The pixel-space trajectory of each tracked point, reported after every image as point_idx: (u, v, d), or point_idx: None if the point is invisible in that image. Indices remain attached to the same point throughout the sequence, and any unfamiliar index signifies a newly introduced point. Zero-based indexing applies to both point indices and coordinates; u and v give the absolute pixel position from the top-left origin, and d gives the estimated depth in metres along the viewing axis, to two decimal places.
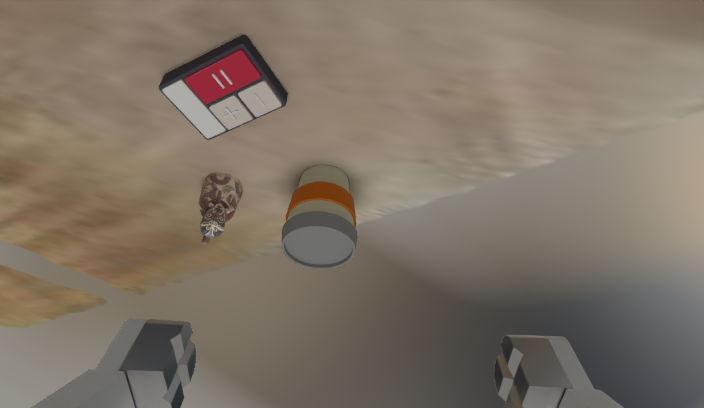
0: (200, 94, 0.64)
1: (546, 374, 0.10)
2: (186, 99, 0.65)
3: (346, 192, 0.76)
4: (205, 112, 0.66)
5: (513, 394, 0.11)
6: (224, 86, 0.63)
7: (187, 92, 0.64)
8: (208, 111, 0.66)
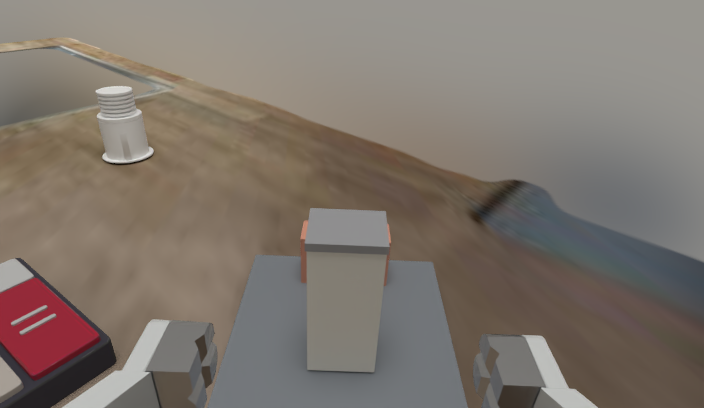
0: None
1: (521, 373, 0.10)
2: None
3: None
4: None
5: (490, 393, 0.11)
6: (15, 324, 0.33)
7: (5, 285, 0.37)
8: None
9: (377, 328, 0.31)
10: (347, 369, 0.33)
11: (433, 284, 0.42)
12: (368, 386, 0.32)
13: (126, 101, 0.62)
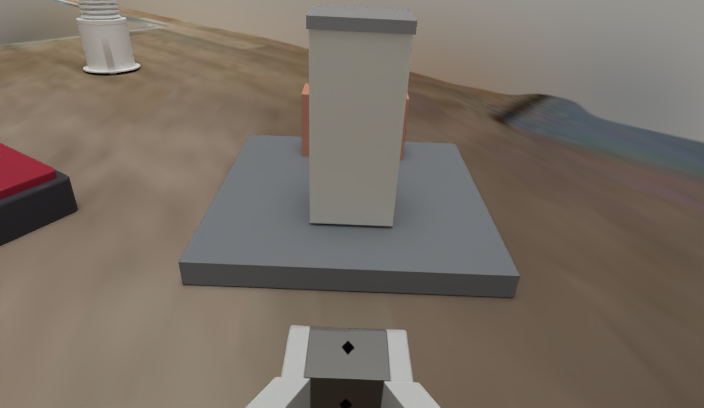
0: None
1: (370, 367, 0.10)
2: None
3: None
4: None
5: None
6: None
7: None
8: None
9: (398, 157, 0.24)
10: (359, 221, 0.27)
11: (458, 160, 0.36)
12: (385, 239, 0.26)
13: (108, 1, 0.56)
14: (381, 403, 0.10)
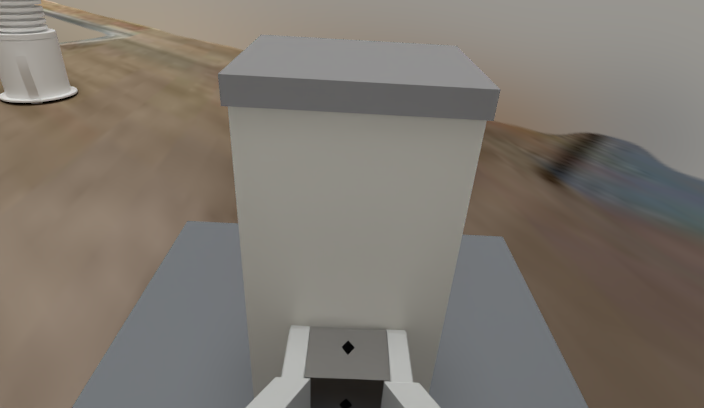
0: None
1: (370, 367, 0.10)
2: None
3: None
4: None
5: None
6: None
7: None
8: None
9: (433, 351, 0.12)
10: None
11: (513, 275, 0.23)
12: None
13: (27, 9, 0.43)
14: (382, 403, 0.10)
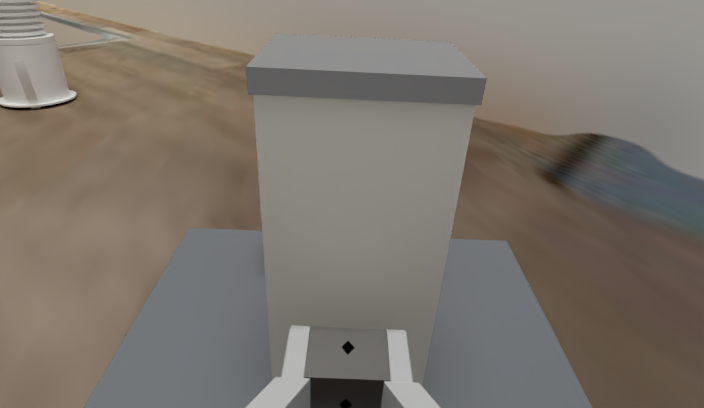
0: None
1: (370, 367, 0.10)
2: None
3: None
4: None
5: None
6: None
7: None
8: None
9: (432, 315, 0.13)
10: None
11: (518, 280, 0.22)
12: None
13: (25, 13, 0.42)
14: (382, 403, 0.10)
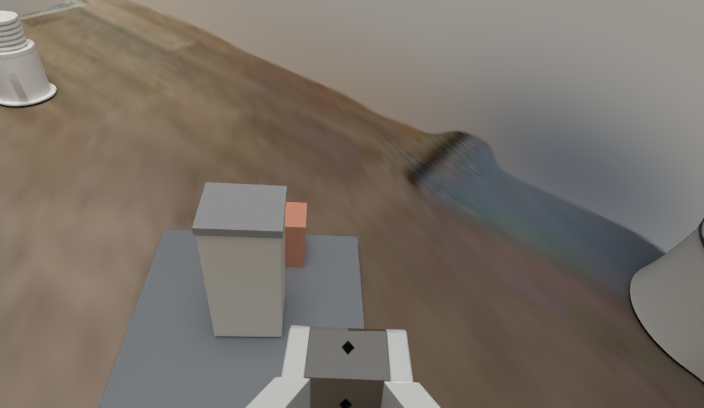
0: None
1: (370, 367, 0.10)
2: None
3: None
4: None
5: None
6: None
7: None
8: None
9: (279, 301, 0.31)
10: (254, 335, 0.34)
11: (354, 264, 0.40)
12: None
13: (11, 32, 0.52)
14: (382, 403, 0.10)
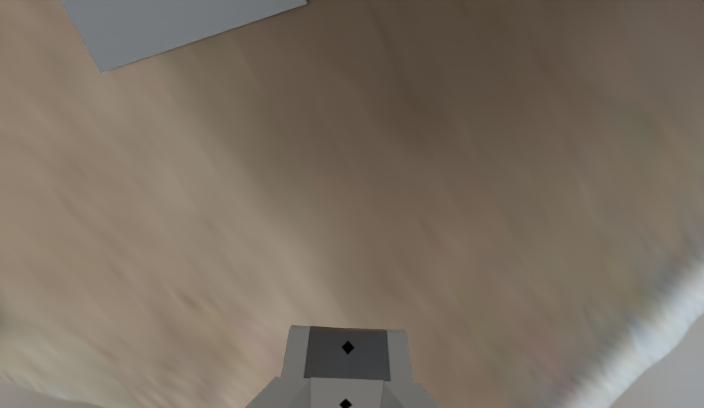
0: None
1: (370, 367, 0.10)
2: None
3: None
4: None
5: None
6: None
7: None
8: None
9: None
10: None
11: None
12: None
13: None
14: (382, 403, 0.10)
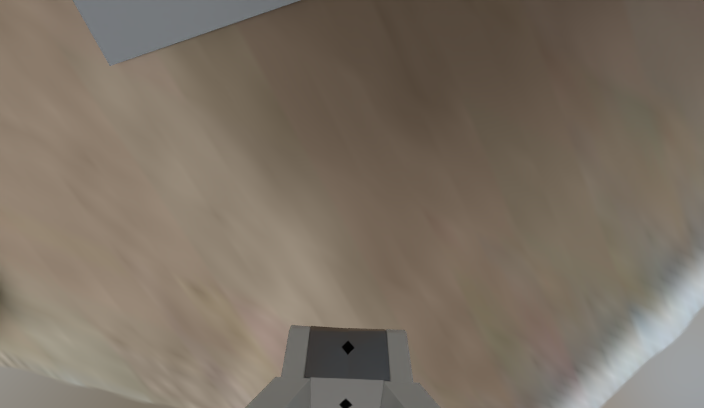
0: None
1: (370, 367, 0.10)
2: None
3: None
4: None
5: None
6: None
7: None
8: None
9: None
10: None
11: None
12: None
13: None
14: (382, 403, 0.10)
